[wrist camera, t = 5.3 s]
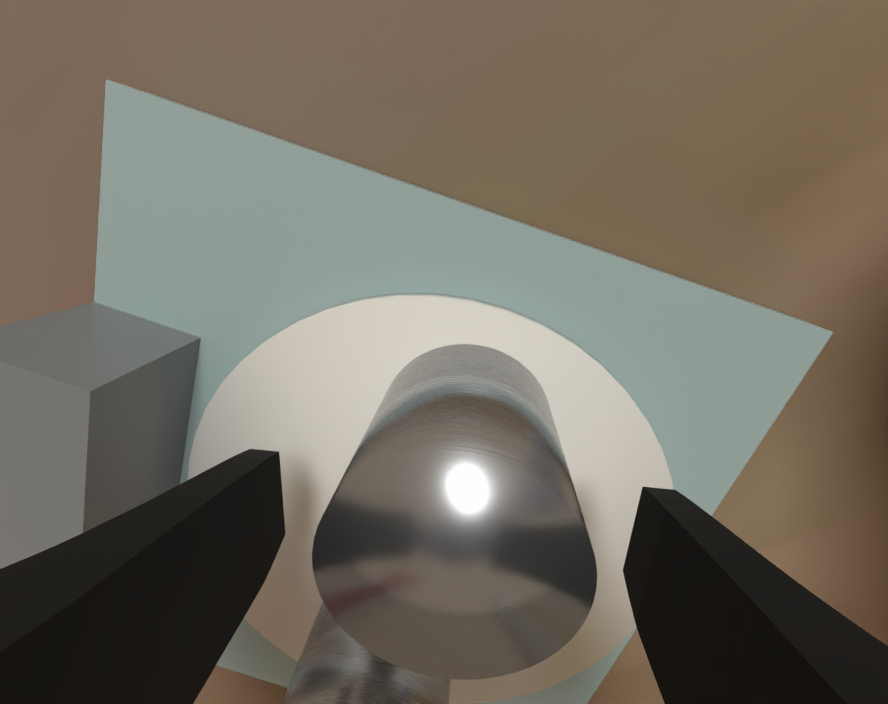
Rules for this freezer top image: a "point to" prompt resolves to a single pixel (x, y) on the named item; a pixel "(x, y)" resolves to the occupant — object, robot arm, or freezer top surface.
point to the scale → (359, 361)
